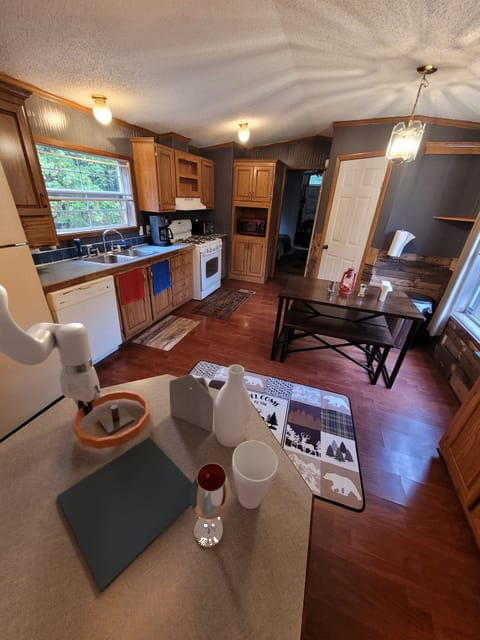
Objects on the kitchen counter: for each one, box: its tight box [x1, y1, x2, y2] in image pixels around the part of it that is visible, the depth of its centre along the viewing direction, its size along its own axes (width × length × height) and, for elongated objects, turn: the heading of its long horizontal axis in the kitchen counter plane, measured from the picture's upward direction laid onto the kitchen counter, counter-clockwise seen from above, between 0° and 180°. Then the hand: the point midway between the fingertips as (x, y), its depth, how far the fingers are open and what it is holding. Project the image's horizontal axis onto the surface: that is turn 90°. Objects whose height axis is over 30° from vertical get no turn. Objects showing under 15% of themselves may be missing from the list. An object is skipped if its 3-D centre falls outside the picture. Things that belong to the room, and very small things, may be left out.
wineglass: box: [190, 462, 232, 548], centre depth 52 cm, size 8×8×18 cm
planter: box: [168, 373, 215, 433], centre depth 83 cm, size 16×8×19 cm, turn 65°
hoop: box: [72, 389, 150, 450], centre depth 80 cm, size 21×21×3 cm
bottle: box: [213, 363, 252, 448], centre depth 75 cm, size 11×11×25 cm
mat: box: [56, 436, 193, 593], centre depth 61 cm, size 24×24×1 cm
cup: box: [231, 439, 279, 510], centre depth 61 cm, size 10×10×14 cm
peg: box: [97, 404, 135, 436], centre depth 80 cm, size 8×8×6 cm
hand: (86, 411), depth 82 cm, fingers closed on hoop, 1 cm apart
